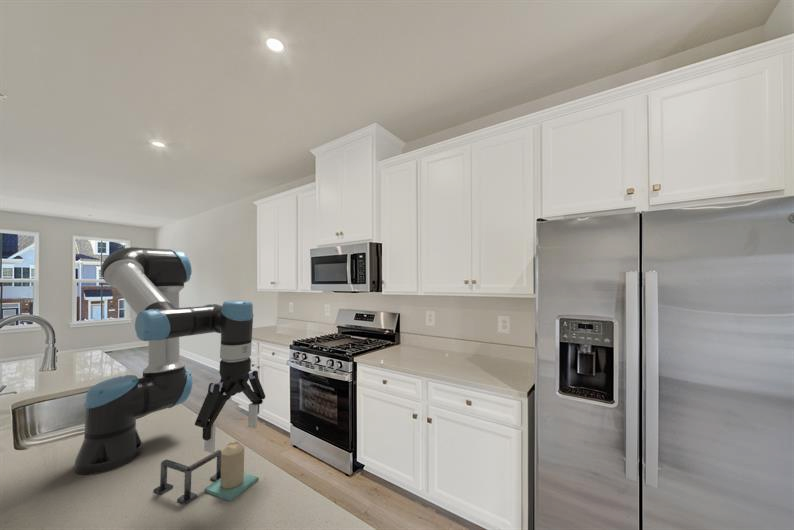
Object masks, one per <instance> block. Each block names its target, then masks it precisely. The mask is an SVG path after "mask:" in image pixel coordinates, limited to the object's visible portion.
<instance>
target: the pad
mask: <svg viewBox="0 0 794 530" xmlns="http://www.w3.org/2000/svg"><path fill="white" fill-rule="evenodd" d="M257 481H259V476H257V475H253V474H250V473H247V472H244V480H243V482H242V483H241V484H240V485H239V486H237V487H234V488H231V489H224V488H222V487H221V478H220V479H219V480H217V481H213V483H211V484H209V485H207V486H206V487H205V488H204V493H207V494H209V495H212V496H215V497H218V498H221V499H223V500H225V501H229V502H231V501H232V500H234V499H235V498H237V497H238V496H239V495H240V494H242V493H244V492H245V491H246V490H247V489H248V488H250V487H251V486H252V485H254V484H255V483H256V482H257Z"/></svg>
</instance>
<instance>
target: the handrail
mask: <svg viewBox="0 0 794 530" xmlns="http://www.w3.org/2000/svg"><path fill="white" fill-rule="evenodd" d="M221 451H222V450H221V449H217V450H215V452H213V453H210V454H209V455H207V456H205V457H204V458H201V459H200V460H198V461H196V462H195V463H193V464H191V465H188V466H187V465H185V464H181V463H180V462H179V463H178V462H175V461H174V460H170V459H166V458H165V459H164V460H162V461H161V462H160V479H159V480H160V483H159V486H157V487H155V488H153V490H152V492H153V493H156V494H157V495H160V496H162V495H163V494H165V493H167V492H168V491H170V490H172V489H174V485H173V484H171V483H168V468H170V469H172V470H175V471H178V472H181V473H184V483H183V484H184V485H183V486H184V487H183V488H184V489H183V494H182V495H181V496H179V497H177V499H176V500H177V501H176V502H178V503H181V504H183V505H187V504H189V503H190V502H191V501H193V500H195V499H196V498H197V497H198V494H197V493H195V492H192V472H193V471H195V470H196V469H199V468H201V467H202V466H203V465H204V466H205V464H207V463H209V462H211V461H212V460H214V459H216V474H214V475H213V476H211V477H210V478H209V479H210V481H213V482H215V481H217V480H219V479H220V478H221Z"/></svg>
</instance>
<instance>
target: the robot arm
mask: <svg viewBox="0 0 794 530" xmlns="http://www.w3.org/2000/svg"><path fill="white" fill-rule="evenodd" d="M192 272H193V271H192V264H191V260H190V258H189V257H188V256H187V254H186V253H185V252H183V251H182V250H178V249H177V250H174V249H172V248H171V249H166V248H152V247H151V248H149V247H137V246H136V247H135V246H133V247H132V246H131V247H125V248H124V247H123V248H120V249H117V250H115V251H113V252H112V253H110V255H108V256H107V257H106V258H104V260H103V262H102V264H101V267H100V273H101V277H102V279H103V281H104V282H105V283H106V285H108V286H109V287H111V288H114V289H116V290H117V292H118V293H119V294H120V295H121V296H122V298H123V299H124V301H126V303H127V304H128V305H129V307H130V308H131V309H132V311H133V312H134V313H135V314H136V315H137V316H136V317H135V320H134V329H135V332H136V336H137V338H138V340H140V341H142V342H148V365H147V366H146V367H145V368H144V369H143V370H142V376H141V378H138V376H136V375H134V374H127V375H123V376H122V375H121V376H115V377H112V378H109V379H106V380H102V381H100V382H98V383H96V384H94V385H93V386H91V387H90V388H89V389H88V391H87V392H86V396H85V397H86V399H85V403H84V408H85V411H84V413H85V414H84V417H85V418H84V434H83V435H84V437H83V440H82V441H83V442H82V444H81V446H80V448H79V451H78V453H77V456H76V458H75V460H74V472H75V473H77V474H81V475H91V474H92V475H93V474H99V473H105V472H108V471H112V470H115V469H118V468H120V467H123V466H125V465H127V464H129V463H131V462H133V461H135V460H136V459H137V458H138V457H140V455H141V454H142V453H143V443H142V440H141V438H140V435H139V433H138V430H137V427H136V426H137V418H139V417H143V416H145V415H149V414H153V413H155V412H159V411H162V410H166V409H171V408H173V407H175V406H178V405H181V404H183V403H185V402H186V400H188V398H189V396H190V395H191V392H192V388H193V375H192V372H191V370H190V369H189V368H186V367H185V364H184V362H182V361H180V338H181V337H189V336H190V337H191V336H197V335H203V334H212V333H217V334H220V347H219V348H220V350H219V358H220V361H219V376H220V381H219V382H216V383H214V382H210V383H208V387H207V388H208V389H207V393H206V395H205V399H204V400H203V403H202V406H201V408H200V410H199V413H198V415H197V417H196V419H195V422H194V426H196V427H198V428H202V437H201V438H202V440H204V442H203V443H204V447H203V450H204V452H208V453H210V454H212V453H214V452H216V430H217V429H216V427H217V425H216V424H214V423H215V422H216V419H217V418H218V416H219V415H220V413H221V411H222V409H223V408H224V406H225V404H226V403H227V401H228V400H230V399H231V397H233V396H235V395H236V394H240V393H243V394H244V395H245V396H246V397H247V399H248V400H249V402H250V403H248V414H247V416H248V417H247V418H248V420H247V427H248V428H251V429H257V428H258V415H259V413H260V405H262V404H263V402H264V401H263V400H265V399H266V394H265V391H264V388H263V386H262V384H261V381H260V378H259V370H254V369H251V368H252V358H251V357H252V344H253V342H252V341H253V340H252V339H253V323H254V305H253V303H252V302H251V301H250V300H243V299H242V300H240V299H239V300H225V301H224V302H223V303H222V305H221V304H217V303H214V304H209V303H208V304H204V305H203V306H188V307H187V306H186V307H180V292H181V291H182V290H183V289H184V288H185V284H186V283H187V282H189V281H190V279H191V276H192ZM248 381H249V383H248ZM249 384H250V385H249Z"/></svg>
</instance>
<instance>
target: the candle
mask: <svg viewBox="0 0 794 530" xmlns="http://www.w3.org/2000/svg"><path fill="white" fill-rule="evenodd" d="M244 473H245V445H243V443H241V442H239V441H234V442H228V444H227V445H226V446H224V447H223V449H222V450H221V487H222V488H224V489H231V488H234V487H237V486H239V485H240V484H241V483H242V482H243V480H244Z"/></svg>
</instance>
